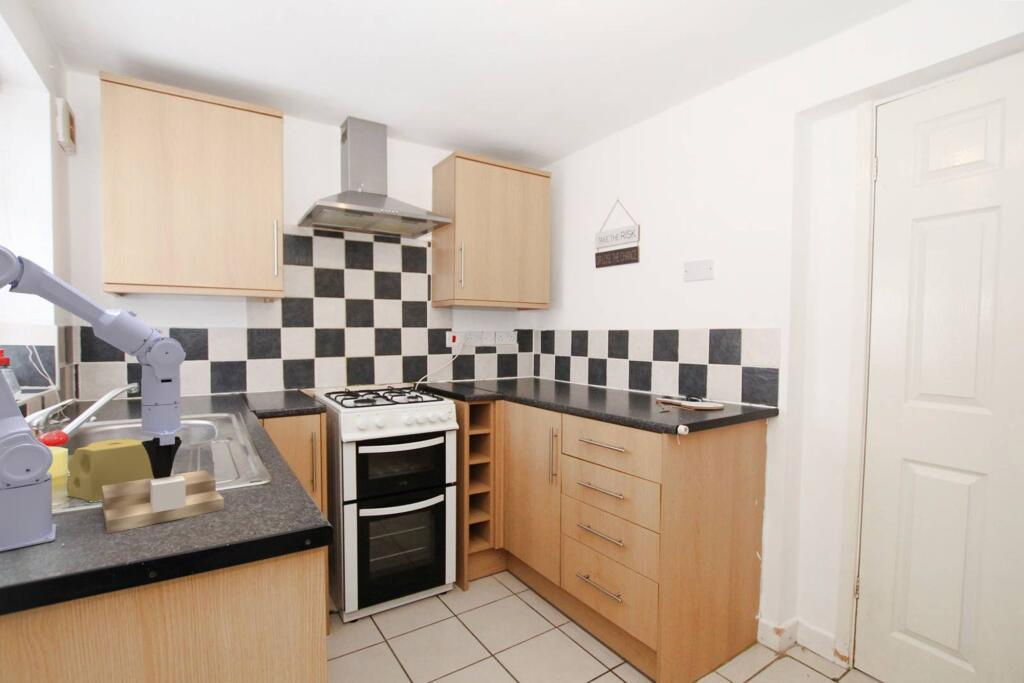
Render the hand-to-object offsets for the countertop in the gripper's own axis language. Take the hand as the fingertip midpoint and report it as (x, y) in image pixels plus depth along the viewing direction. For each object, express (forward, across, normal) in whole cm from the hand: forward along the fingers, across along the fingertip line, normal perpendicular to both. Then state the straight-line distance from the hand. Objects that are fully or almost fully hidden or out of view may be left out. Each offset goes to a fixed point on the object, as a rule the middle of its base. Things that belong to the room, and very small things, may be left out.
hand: (162, 479), depth 88 cm
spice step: (+5, 0, 0) cm, 5 cm away
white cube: (+1, -5, 0) cm, 5 cm away
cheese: (+6, +19, +6) cm, 21 cm away
